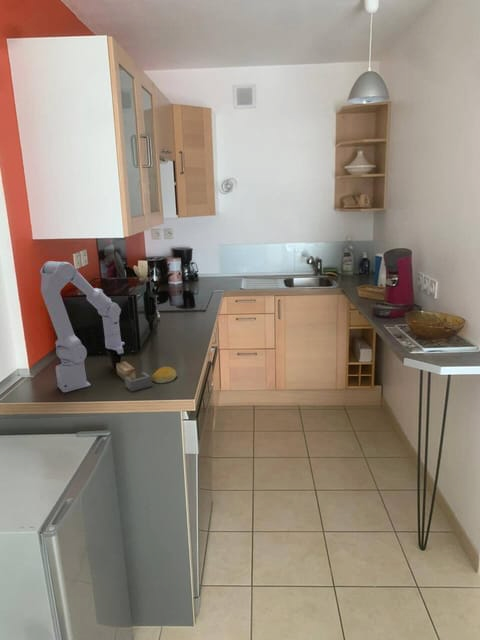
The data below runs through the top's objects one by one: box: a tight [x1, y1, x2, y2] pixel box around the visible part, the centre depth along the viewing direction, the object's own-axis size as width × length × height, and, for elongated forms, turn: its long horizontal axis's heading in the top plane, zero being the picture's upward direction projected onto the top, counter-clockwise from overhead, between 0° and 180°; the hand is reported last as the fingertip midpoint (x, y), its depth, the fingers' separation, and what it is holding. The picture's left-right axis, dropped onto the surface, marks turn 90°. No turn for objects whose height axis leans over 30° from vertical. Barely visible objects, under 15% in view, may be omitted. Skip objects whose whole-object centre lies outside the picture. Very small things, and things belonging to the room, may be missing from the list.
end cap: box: [124, 371, 153, 392], centre depth 162 cm, size 7×6×4 cm
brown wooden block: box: [116, 360, 137, 381], centre depth 172 cm, size 4×10×4 cm, turn 33°
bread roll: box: [151, 366, 178, 384], centre depth 168 cm, size 8×9×4 cm
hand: (116, 367), depth 180 cm, fingers closed
